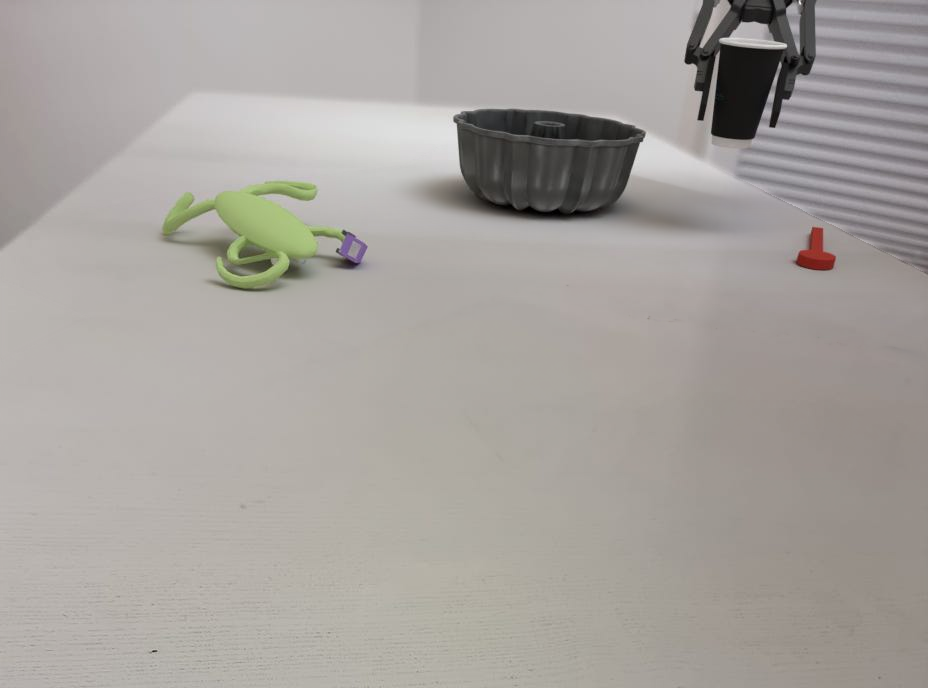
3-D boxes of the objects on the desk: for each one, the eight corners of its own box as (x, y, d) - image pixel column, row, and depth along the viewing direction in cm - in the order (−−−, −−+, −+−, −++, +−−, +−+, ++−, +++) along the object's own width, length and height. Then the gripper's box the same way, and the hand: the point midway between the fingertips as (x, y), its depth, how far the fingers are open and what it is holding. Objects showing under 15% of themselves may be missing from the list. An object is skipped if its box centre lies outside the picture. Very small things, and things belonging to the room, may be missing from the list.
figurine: (300, 217, 116) (298, 168, 113) (396, 277, 98) (398, 221, 95) (154, 228, 108) (148, 176, 105) (231, 295, 90) (226, 235, 87)
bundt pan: (539, 174, 145) (546, 102, 139) (671, 210, 130) (686, 131, 124) (411, 191, 131) (413, 111, 125) (543, 235, 116) (553, 147, 110)
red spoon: (832, 237, 123) (835, 227, 123) (833, 272, 110) (836, 261, 109) (799, 232, 124) (801, 223, 124) (795, 266, 111) (798, 256, 110)
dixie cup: (775, 149, 114) (801, 45, 108) (731, 152, 111) (754, 45, 104) (729, 137, 120) (751, 37, 113) (685, 140, 116) (705, 37, 109)
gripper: (845, -19, 115) (817, 146, 112) (680, -31, 118) (649, 129, 116) (865, -73, 108) (835, 102, 105) (687, -84, 111) (654, 85, 108)
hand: (738, 116), depth 110 cm, fingers closed on dixie cup, 8 cm apart
